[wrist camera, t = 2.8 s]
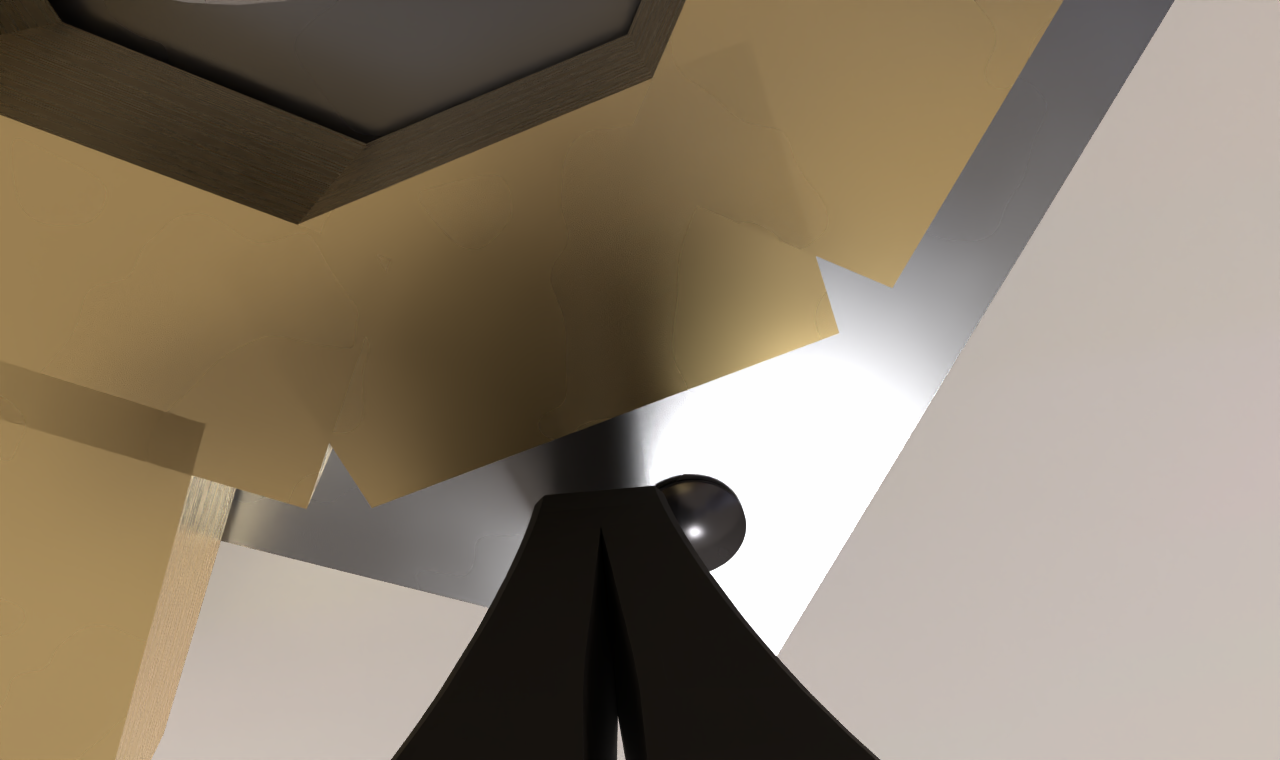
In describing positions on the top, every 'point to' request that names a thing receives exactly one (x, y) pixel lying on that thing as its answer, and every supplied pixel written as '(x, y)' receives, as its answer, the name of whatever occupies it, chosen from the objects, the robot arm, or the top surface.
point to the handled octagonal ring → (410, 286)
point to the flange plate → (696, 418)
